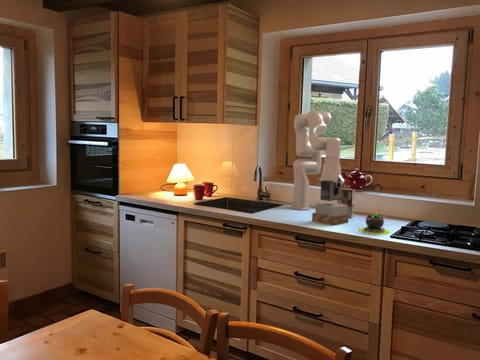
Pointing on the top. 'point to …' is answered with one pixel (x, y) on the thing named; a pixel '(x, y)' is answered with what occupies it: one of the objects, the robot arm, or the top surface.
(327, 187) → the small box
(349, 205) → the coffee box
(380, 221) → the toy cauldron
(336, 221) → the tower base
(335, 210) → the tower top
